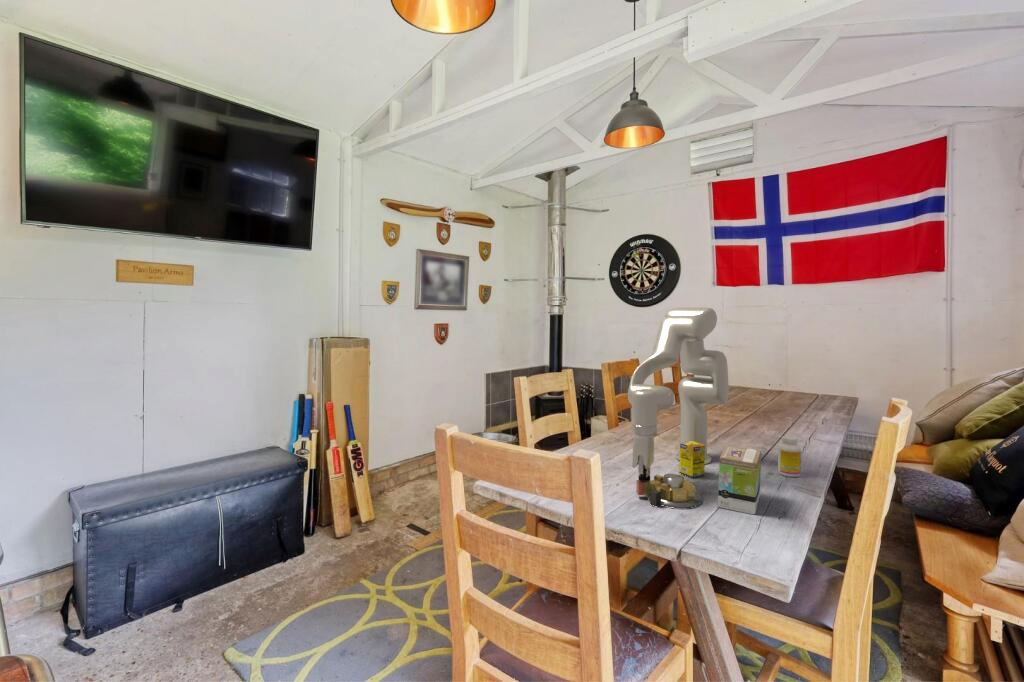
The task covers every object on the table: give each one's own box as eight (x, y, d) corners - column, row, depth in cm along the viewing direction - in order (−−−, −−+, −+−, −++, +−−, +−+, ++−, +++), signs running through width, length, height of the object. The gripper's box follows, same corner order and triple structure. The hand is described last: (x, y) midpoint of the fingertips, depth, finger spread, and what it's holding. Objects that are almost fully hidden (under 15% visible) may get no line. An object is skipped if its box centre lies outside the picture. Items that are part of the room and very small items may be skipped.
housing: (630, 492, 143) (630, 471, 142) (677, 485, 148) (678, 465, 148) (661, 512, 127) (662, 489, 127) (713, 504, 133) (714, 482, 132)
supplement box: (692, 479, 154) (693, 447, 153) (678, 473, 159) (679, 442, 159) (705, 476, 157) (705, 444, 156) (690, 471, 162) (691, 440, 161)
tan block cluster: (642, 501, 132) (642, 487, 132) (632, 486, 144) (632, 473, 144) (700, 501, 132) (700, 487, 132) (685, 486, 144) (685, 473, 143)
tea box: (756, 515, 125) (757, 462, 125) (716, 507, 131) (717, 456, 130) (760, 497, 138) (761, 449, 137) (724, 490, 144) (724, 444, 143)
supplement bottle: (803, 478, 154) (804, 440, 153) (781, 477, 155) (782, 439, 155) (795, 471, 161) (796, 435, 160) (774, 470, 162) (775, 434, 161)
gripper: (637, 422, 149) (637, 478, 150) (625, 434, 136) (626, 494, 137) (661, 425, 145) (661, 481, 146) (651, 437, 132) (651, 499, 133)
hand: (644, 487), depth 142 cm, fingers closed
